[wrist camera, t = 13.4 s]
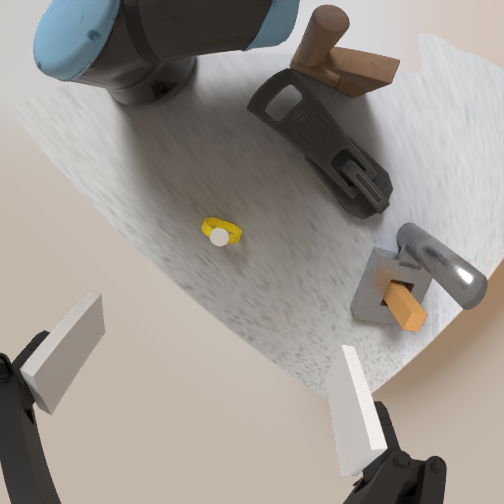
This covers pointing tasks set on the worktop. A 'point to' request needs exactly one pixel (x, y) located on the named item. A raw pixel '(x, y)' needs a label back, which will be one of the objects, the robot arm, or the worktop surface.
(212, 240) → the watch
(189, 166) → the worktop surface
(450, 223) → the worktop surface
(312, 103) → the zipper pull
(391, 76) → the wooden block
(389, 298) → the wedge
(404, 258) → the grey l-shaped piece
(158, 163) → the worktop surface
